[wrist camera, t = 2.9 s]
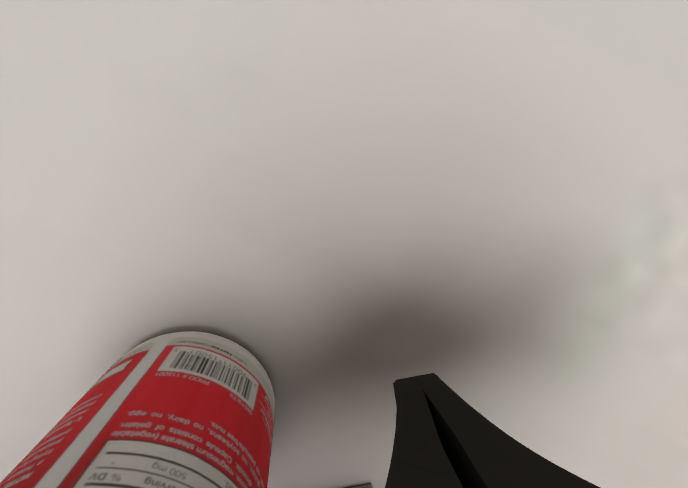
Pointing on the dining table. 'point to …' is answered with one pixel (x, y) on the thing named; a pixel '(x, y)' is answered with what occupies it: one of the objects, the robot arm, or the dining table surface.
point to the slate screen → (363, 486)
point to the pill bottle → (163, 422)
